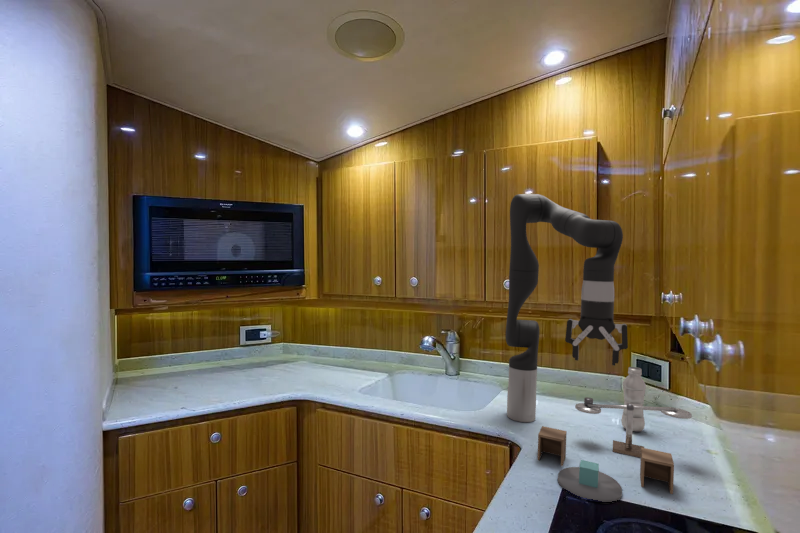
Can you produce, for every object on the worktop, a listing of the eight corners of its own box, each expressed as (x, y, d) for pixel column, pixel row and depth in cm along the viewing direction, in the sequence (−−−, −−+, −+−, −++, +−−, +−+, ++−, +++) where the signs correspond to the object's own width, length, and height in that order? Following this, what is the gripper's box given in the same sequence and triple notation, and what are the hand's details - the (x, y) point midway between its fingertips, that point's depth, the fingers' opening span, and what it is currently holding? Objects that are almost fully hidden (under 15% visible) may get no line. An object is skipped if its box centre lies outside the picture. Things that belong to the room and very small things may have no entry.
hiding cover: (541, 450, 117) (542, 426, 117) (565, 456, 114) (566, 431, 114) (537, 460, 112) (538, 434, 111) (562, 466, 109) (563, 439, 108)
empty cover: (640, 474, 105) (641, 447, 105) (669, 481, 102) (671, 453, 102) (641, 486, 100) (642, 457, 100) (672, 494, 97) (674, 464, 97)
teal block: (580, 475, 102) (580, 459, 102) (598, 480, 100) (598, 463, 100) (578, 483, 99) (579, 466, 99) (597, 488, 97) (598, 471, 97)
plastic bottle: (649, 433, 131) (652, 370, 130) (630, 434, 130) (632, 371, 129) (634, 425, 137) (637, 365, 137) (616, 426, 136) (618, 365, 136)
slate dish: (546, 473, 105) (546, 469, 105) (594, 468, 108) (595, 464, 108) (581, 506, 91) (581, 501, 91) (636, 499, 94) (636, 495, 94)
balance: (572, 443, 122) (574, 394, 122) (575, 435, 128) (576, 388, 128) (691, 469, 109) (693, 414, 108) (687, 458, 115) (689, 406, 115)
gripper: (565, 298, 105) (563, 361, 106) (629, 302, 99) (627, 370, 99) (568, 295, 112) (566, 355, 112) (629, 299, 105) (626, 363, 106)
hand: (594, 362), depth 106 cm, fingers open, 8 cm apart
